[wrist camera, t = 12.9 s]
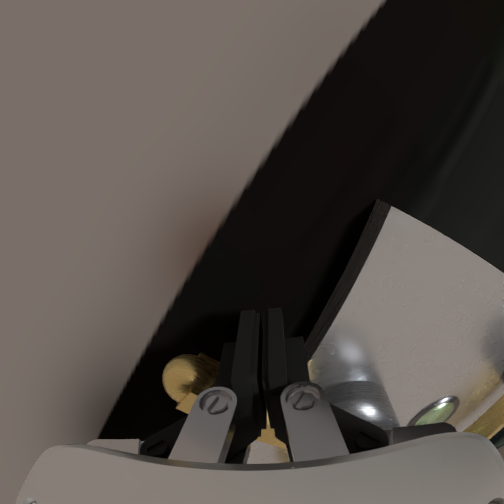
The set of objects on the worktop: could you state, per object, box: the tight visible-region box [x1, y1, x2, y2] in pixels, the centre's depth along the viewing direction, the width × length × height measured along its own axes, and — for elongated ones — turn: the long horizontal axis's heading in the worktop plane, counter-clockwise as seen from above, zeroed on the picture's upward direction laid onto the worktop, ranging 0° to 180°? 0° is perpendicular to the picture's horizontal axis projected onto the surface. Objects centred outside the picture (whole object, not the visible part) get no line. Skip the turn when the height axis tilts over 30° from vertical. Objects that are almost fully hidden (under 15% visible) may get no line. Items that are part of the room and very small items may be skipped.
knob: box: [162, 352, 401, 449], centre depth 11 cm, size 14×6×6 cm, turn 56°
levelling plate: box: [247, 199, 504, 464], centre depth 16 cm, size 26×23×2 cm
